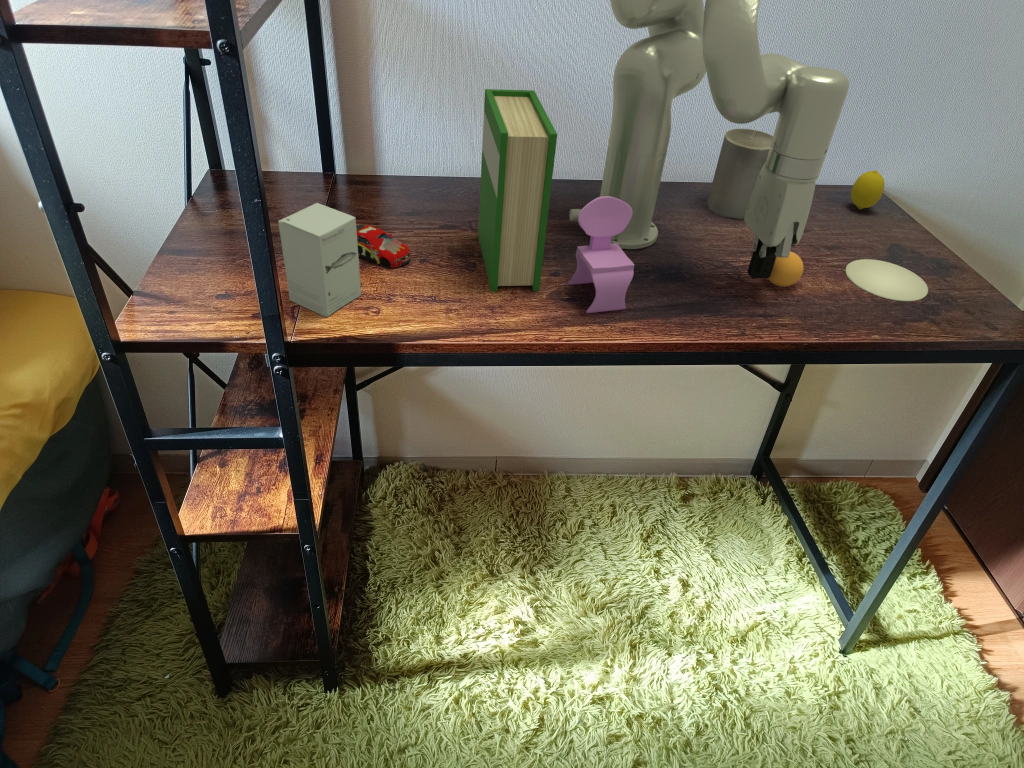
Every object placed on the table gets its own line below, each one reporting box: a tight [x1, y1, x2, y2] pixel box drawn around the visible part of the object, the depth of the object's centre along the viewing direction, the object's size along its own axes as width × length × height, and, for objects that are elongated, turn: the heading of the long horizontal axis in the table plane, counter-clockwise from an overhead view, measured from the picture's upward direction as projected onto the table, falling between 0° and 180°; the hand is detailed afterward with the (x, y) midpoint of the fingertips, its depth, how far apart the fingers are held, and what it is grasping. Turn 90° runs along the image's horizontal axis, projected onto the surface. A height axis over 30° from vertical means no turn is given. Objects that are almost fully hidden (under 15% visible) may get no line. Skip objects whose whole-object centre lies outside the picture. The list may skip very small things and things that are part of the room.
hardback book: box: [477, 88, 558, 293], centre depth 104 cm, size 18×7×24 cm, turn 9°
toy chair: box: [567, 196, 635, 314], centre depth 101 cm, size 8×9×15 cm
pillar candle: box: [706, 128, 773, 220], centre depth 129 cm, size 10×10×15 cm
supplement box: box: [277, 202, 362, 318], centre depth 96 cm, size 7×7×13 cm
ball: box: [767, 251, 804, 287], centre depth 111 cm, size 6×6×6 cm
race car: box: [356, 223, 411, 269], centre depth 110 cm, size 13×5×4 cm, turn 59°
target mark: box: [845, 258, 929, 302], centre depth 116 cm, size 13×13×1 cm
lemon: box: [850, 169, 886, 211], centre depth 135 cm, size 6×6×8 cm
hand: (758, 275), depth 110 cm, fingers closed
